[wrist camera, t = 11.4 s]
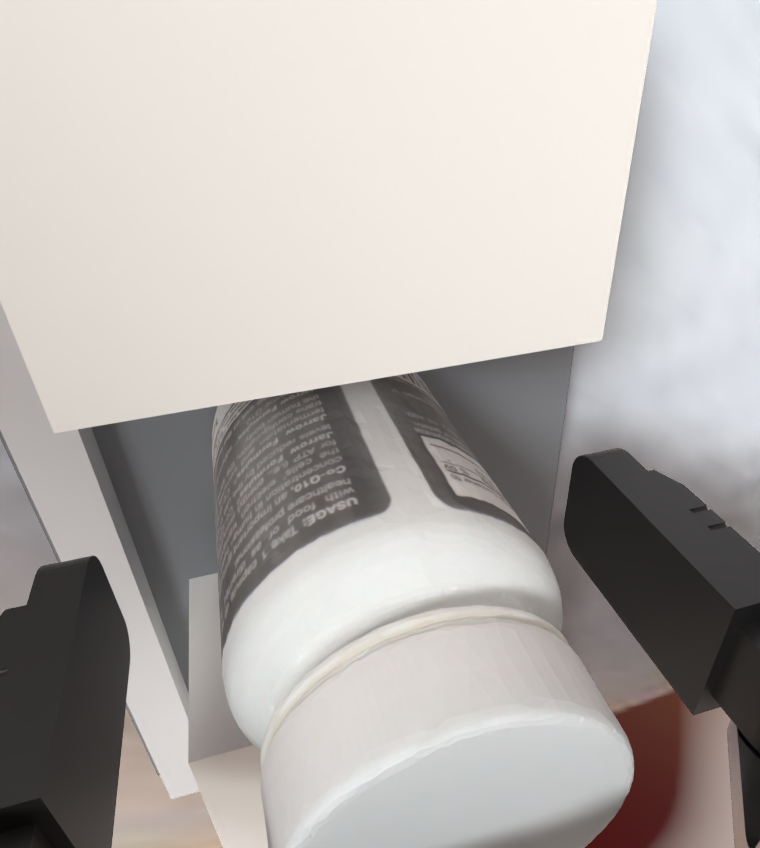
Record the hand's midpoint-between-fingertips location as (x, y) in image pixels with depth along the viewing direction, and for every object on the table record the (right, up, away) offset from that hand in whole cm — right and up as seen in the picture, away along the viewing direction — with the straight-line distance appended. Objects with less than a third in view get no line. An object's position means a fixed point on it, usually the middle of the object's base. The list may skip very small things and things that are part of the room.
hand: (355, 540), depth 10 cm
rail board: (-1, +3, +4) cm, 5 cm away
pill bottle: (-1, +2, +3) cm, 4 cm away
